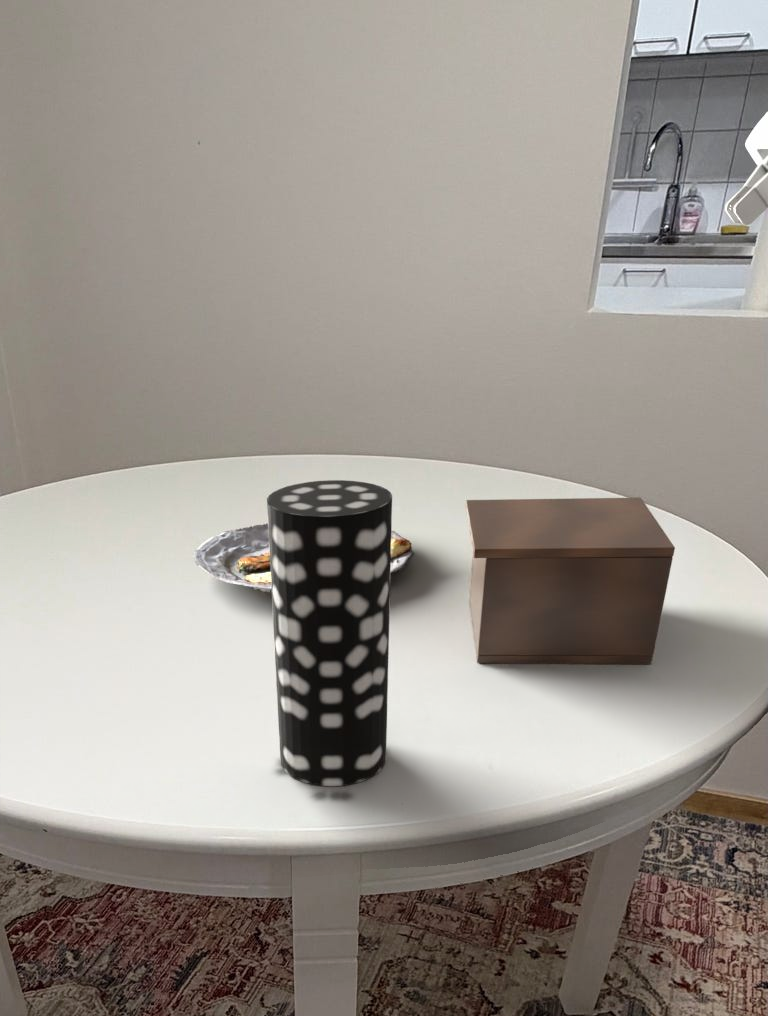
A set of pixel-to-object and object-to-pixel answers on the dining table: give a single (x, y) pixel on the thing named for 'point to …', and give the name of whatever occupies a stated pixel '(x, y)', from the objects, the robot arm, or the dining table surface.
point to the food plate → (263, 556)
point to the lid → (565, 528)
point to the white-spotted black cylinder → (331, 627)
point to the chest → (567, 609)
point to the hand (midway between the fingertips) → (734, 217)
